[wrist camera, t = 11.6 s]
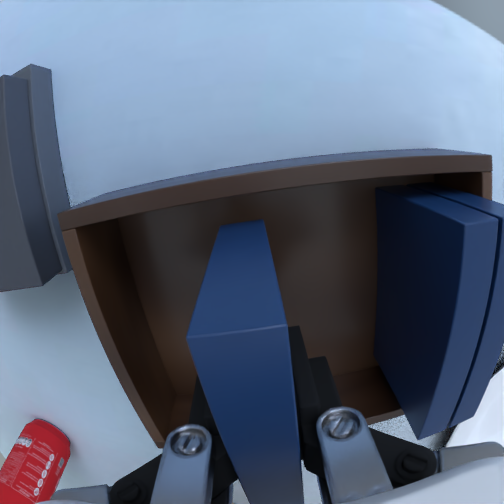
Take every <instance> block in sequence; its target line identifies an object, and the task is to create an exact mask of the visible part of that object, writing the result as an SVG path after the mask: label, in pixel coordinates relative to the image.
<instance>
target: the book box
mask: <svg viewBox="0 0 504 504" xmlns="http://www.w3.org/2000/svg"><path fill="white" fill-rule="evenodd" d="M491 171H492V155H487V154H480V153H472V152H464V151H455V150H445V149H405V150H384V151H368V152H354V153H342V154H331V155H321V156H311V157H302V158H294V159H285V160H278V161H270V162H263V163H256V164H249V165H243V166H236V167H230V168H224V169H218V170H213V171H207V172H202V173H196V174H191V175H186V176H181V177H176V178H171V179H166V180H161V181H156V182H152V183H147V184H143V185H139V186H134V187H130V188H126V189H122V190H118V191H113V192H109V193H106V194H103V195H100V196H98V197H95V198H93V199H90V200H88V201H86V202H83V203H81V204H78V205H76V206H74V207H71V208H69V209H67V210H64V211H62V212H60V213H58V214H57V217H58V221H59V224H60V228H61V231H62V235H63V239H64V242H65V246H66V249H67V252H68V256H69V259H70V262H71V265H72V268H73V271H74V274H75V277H76V280H77V283H78V286H79V289H80V292H81V294H82V297H83V300H84V302H85V305H86V308H87V310H88V313H89V315H90V318H91V320H92V323H93V325H94V327H95V330H96V332H97V335H98V337H99V339H100V341H101V344H102V346H103V348H104V350H105V352H106V355H107V357H108V359H109V361H110V363H111V365H112V367H113V369H114V371H115V373H116V375H117V377H118V379H119V381H120V383H121V385H122V387H123V389H124V391H125V393H126V395H127V397H128V398H129V400H130V402H131V404H132V406H133V407H134V409H135V411H136V413H137V414H138V416H139V418H140V420H141V421H142V423H143V425H144V426H145V428H146V430H147V431H148V433H149V435H150V436H151V438H152V439H153V441H154V443H155V444H156V446H157V447H158V448H164V445H165V441H166V439H167V437H168V435H169V434H170V433H171V432H172V431H173V430H174V429H176V428H177V427H180V426H183V425H187V424H188V422H189V416H190V411H191V405H192V400H193V394H194V389H195V383H196V378H197V371H196V368H195V365H194V362H193V359H192V356H191V353H190V350H189V347H188V343H187V340H186V335H187V331H188V328H189V324H190V321H191V318H192V314H193V311H194V308H195V304H196V301H197V298H198V294H199V291H200V288H201V285H202V281H203V278H204V275H205V272H206V268H207V265H208V262H209V259H210V256H211V253H212V250H213V246H214V243H215V240H216V237H217V234H218V231H219V228H220V226H221V225H227V224H233V223H239V222H246V221H253V220H259V219H263V220H264V224H265V228H266V232H267V236H268V241H269V245H270V249H271V254H272V258H273V262H274V267H275V271H276V276H277V280H278V285H279V289H280V293H281V298H282V302H283V307H284V311H285V316H286V321H287V325H288V327H292V326H298V325H299V326H300V330H301V333H302V337H303V341H304V344H305V348H306V352H307V355H308V359H309V358H315V357H321V356H325V357H326V359H327V361H328V364H329V367H330V370H331V373H332V376H333V379H334V382H335V385H336V388H337V391H338V394H339V397H340V400H341V403H342V406H344V407H351V408H354V409H356V410H358V411H359V412H360V413H361V414H362V415H363V416H364V418H365V420H366V423H367V425H371V424H374V423H378V422H382V421H385V420H388V419H392V418H395V417H398V416H401V415H405V414H404V412H403V410H402V408H401V406H400V404H399V402H398V400H397V398H396V396H395V394H394V393H393V391H392V389H391V387H390V385H389V383H388V381H387V379H386V377H385V376H384V374H383V372H382V370H381V368H380V366H379V364H378V363H377V361H376V359H375V357H374V355H373V353H374V340H375V326H376V308H377V271H378V250H377V213H376V195H375V188H376V187H383V186H394V185H405V186H406V185H407V184H415V183H427V182H432V183H436V184H439V185H443V186H446V187H450V188H453V189H457V190H460V191H464V192H467V193H470V194H473V195H476V196H480V197H483V198H486V199H489V200H492V172H491Z"/></svg>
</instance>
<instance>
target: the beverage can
mask: <svg viewBox="0 0 504 504" xmlns="http://www.w3.org/2000/svg"><path fill="white" fill-rule="evenodd" d="M69 457H70V441H69V439H68V437H67V436H66V435H65V434H64V433H63V432H62V431H61V430H60V429H58V428H57V427H56V426H54V425H53V424H51V423H49V422H47V421H45V420H42V419H34V420H33V421H32V422H30V423H28V424H26V426H25V427H24V429H23V431H22V432H21V434H20V436H19V437H18V439H17V441H16V443H15V444H14V446H13V448H12V450H11V452H10V453H9V455H8V457H7V459H6V461H5V462H4V464H3V466H2V468H1V470H0V504H35V503H39V502H43V501H50V498H51V496H52V495H53V493H55V491H56V488H57V486H58V483H59V481H60V478H61V476H62V473H63V471H64V469H65V466H66V464H67V462H68V459H69Z"/></svg>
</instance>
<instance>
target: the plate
mask: <svg viewBox="0 0 504 504" xmlns="http://www.w3.org/2000/svg"><path fill="white" fill-rule="evenodd" d="M488 441H489V442H497V443H499V444H501V445H502V446H503V447H504V366H502V367H501V368H500V369H499V370H498V371H497V372H496V373H495V374H493V375H492V377H491V379H490V382H489V384H488V387H487V389H486V391H485V394H484V396H483V398H482V400H481V402H480V405H479V407H478V409H477V411H476V413H475V415H474V417H472V418H470V419H468V420H466V421H464V422H462V423H459V424H457V425H456V426H455V428H454V430H453V432H452V434H451V436H450V438H449V439H448V441H447V443H446V446H445V447H453V446H461V445H469V444H476V443H482V442H488Z"/></svg>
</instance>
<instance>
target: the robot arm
mask: <svg viewBox="0 0 504 504" xmlns="http://www.w3.org/2000/svg"><path fill="white" fill-rule="evenodd" d="M288 334H289V343H290V352H291V361H292V371H293V380H294V390H295V401H296V411H297V422H298V433H299V444H300V456H301V460H304V466H305V467H306V470H308V471H310V472H312V473H314V474H316V475H317V481H318V486H319V490H320V495H321V499H322V504H504V447H503V446H502V445H501V444H499V443H497V442H489V441H488V442H482V443H476V444H469V445H461V446H453V447H443V448H440V449H439V451H431V450H430V449H428V448H426V447H424V446H421V445H418V444H415V443H412V442H409V441H406V440H403V439H400V438H397V437H394V436H391V435H388V434H385V433H383V432H380V431H377V430H374V429H372V428H369V427H368V425H367V423H366V420H365V418H364V416H363V415H362V414H361V413H360V412H359V411H358V410H356V409H354V408H351V407H344V406H342V403H341V400H340V397H339V394H338V391H337V388H336V385H335V382H334V379H333V376H332V373H331V370H330V367H329V364H328V361H327V359H326V357H325V356H321V357H315V358H309V359H308V355H307V352H306V348H305V344H304V341H303V337H302V333H301V330H300V326H299V325H298V326H292V327H288ZM237 479H238V477H237V474H236V472H235V470H234V467H233V465H232V463H231V460H230V458H229V456H228V453H227V451H226V448H225V446H224V444H223V441H222V439H221V436H220V434H219V431H218V428H217V426H216V423H215V421H214V418H213V415H212V413H211V410H210V407H209V405H208V402H207V399H206V397H205V394H204V391H203V388H202V385H201V382H200V380H199V377H198V374H197V378H196V383H195V389H194V394H193V400H192V405H191V411H190V416H189V422H188V424H187V425H183V426H180V427H177V428H176V429H174V430H173V431H172V432H171V433H170V434H169V435H168V437H167V439H166V441H165V445H164V449H163V453H162V454H160V455H159V456H157V457H156V458H154V459H153V460H151V461H149V462H148V463H146V464H145V465H143V466H141V467H140V468H138V469H136V470H135V471H133V472H131V473H130V474H128V475H126V476H125V477H123V478H121V479H120V480H118V481H117V482H116V483H115V484H114V485H113V486H110V487H109V486H108V485H107V484H105V485H98V486H90V487H81V488H70V489H61V490H58V491H56V492H55V493H53V495H52V496H51V498H50V501H43V502H39V503H35V504H232V500H233V482H234V481H236V480H237Z"/></svg>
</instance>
